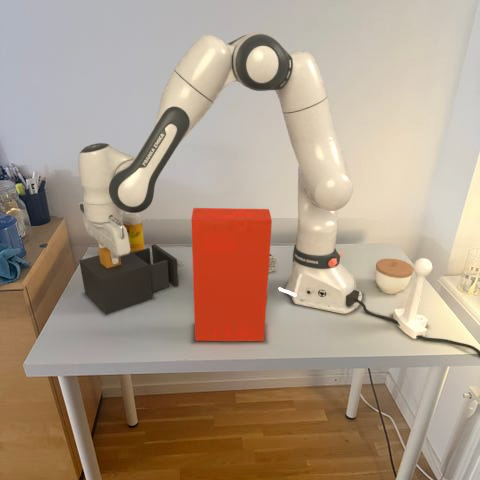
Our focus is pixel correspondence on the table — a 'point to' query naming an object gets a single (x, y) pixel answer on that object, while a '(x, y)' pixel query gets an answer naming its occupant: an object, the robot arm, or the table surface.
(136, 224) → the vitamin bottle
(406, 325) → the joystick
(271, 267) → the flashlight
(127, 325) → the table surface
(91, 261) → the dark grey open box
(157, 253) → the drawer
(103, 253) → the block
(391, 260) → the trinket box
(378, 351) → the table surface
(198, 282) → the file binder
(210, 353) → the table surface
